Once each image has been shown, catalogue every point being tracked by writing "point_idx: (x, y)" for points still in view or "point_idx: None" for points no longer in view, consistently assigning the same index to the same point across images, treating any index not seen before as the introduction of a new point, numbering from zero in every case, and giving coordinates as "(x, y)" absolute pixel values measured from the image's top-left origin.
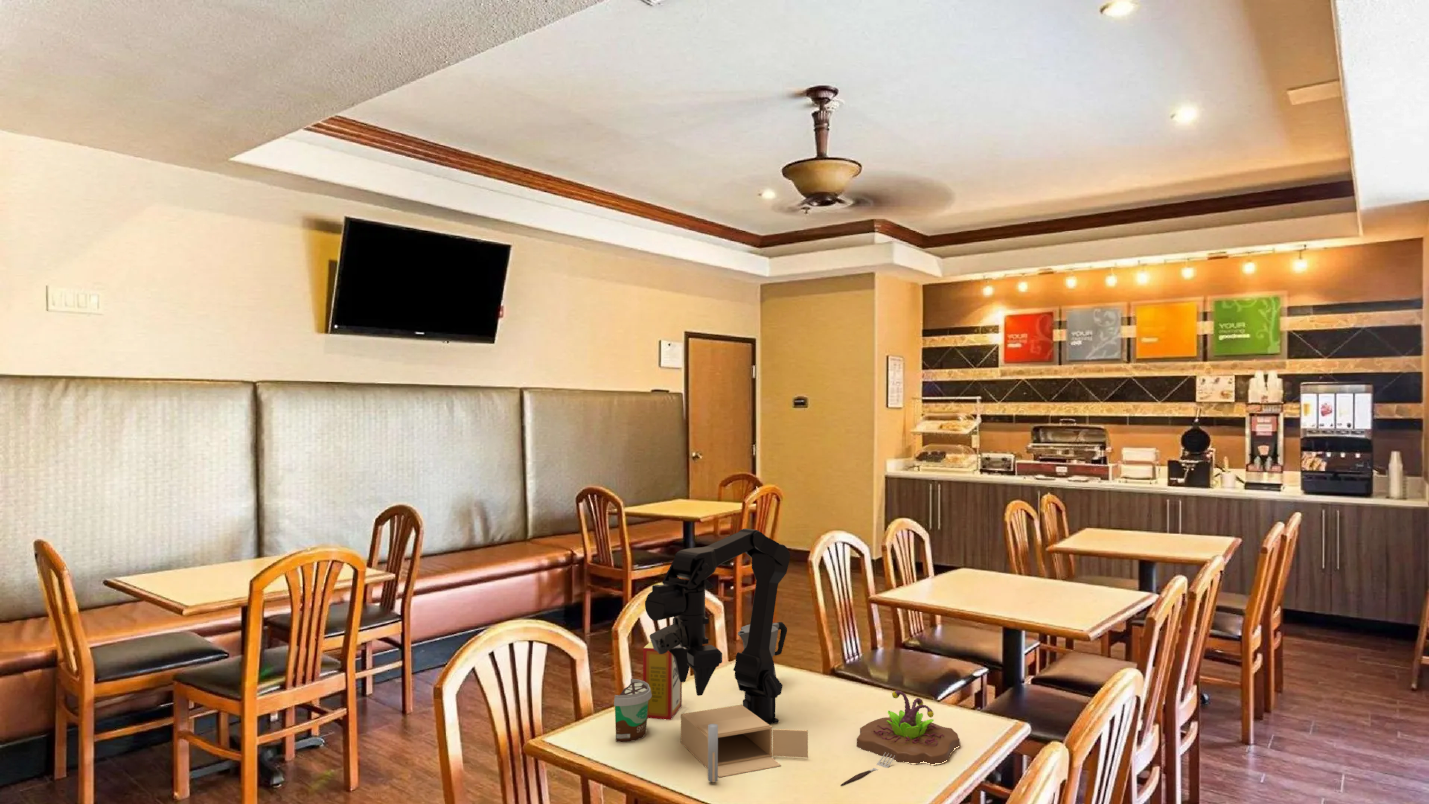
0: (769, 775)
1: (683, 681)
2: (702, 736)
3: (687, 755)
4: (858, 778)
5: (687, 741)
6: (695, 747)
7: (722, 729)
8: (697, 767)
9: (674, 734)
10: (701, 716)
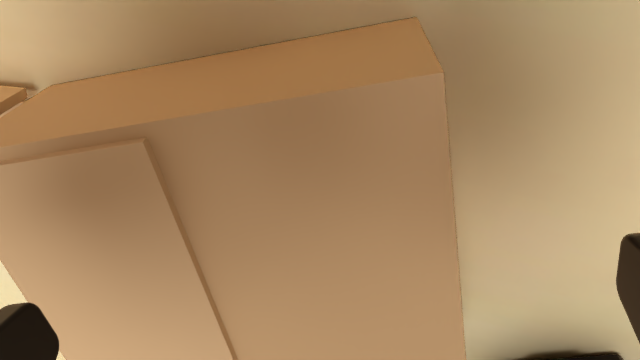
0: (7, 290)
1: (624, 273)
2: (33, 133)
3: (227, 18)
4: None
5: (307, 48)
6: (182, 73)
7: (57, 266)
8: (66, 39)
9: (567, 3)
10: (338, 204)
